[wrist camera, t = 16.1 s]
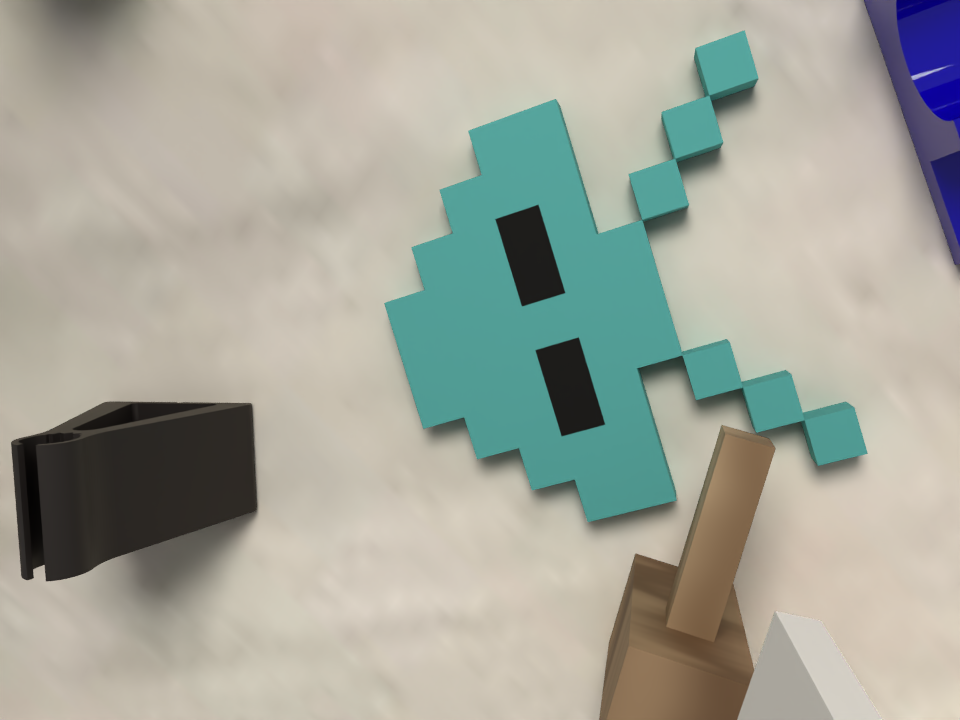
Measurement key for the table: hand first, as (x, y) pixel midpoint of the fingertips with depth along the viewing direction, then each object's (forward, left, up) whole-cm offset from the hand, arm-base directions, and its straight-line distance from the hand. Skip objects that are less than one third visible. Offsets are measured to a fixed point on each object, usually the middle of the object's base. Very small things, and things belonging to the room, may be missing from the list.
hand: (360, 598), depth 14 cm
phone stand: (-19, -10, -31) cm, 38 cm away
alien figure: (+1, +4, -31) cm, 31 cm away
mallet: (+8, -6, -31) cm, 32 cm away
